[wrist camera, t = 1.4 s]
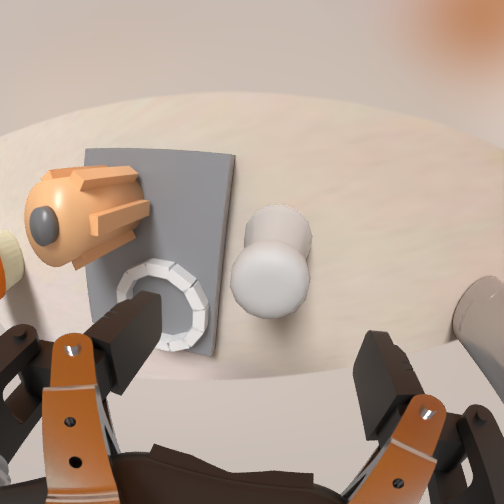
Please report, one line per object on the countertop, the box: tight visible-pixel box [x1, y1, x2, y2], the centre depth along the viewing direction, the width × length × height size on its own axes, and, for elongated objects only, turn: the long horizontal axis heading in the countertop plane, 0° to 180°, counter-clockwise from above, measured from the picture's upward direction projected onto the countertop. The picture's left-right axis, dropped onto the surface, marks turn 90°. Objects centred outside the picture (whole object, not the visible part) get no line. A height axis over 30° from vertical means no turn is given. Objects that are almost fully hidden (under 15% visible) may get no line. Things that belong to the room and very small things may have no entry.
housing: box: [24, 148, 235, 357], centre depth 23 cm, size 16×21×13 cm
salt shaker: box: [230, 204, 312, 319], centre depth 20 cm, size 6×6×13 cm
